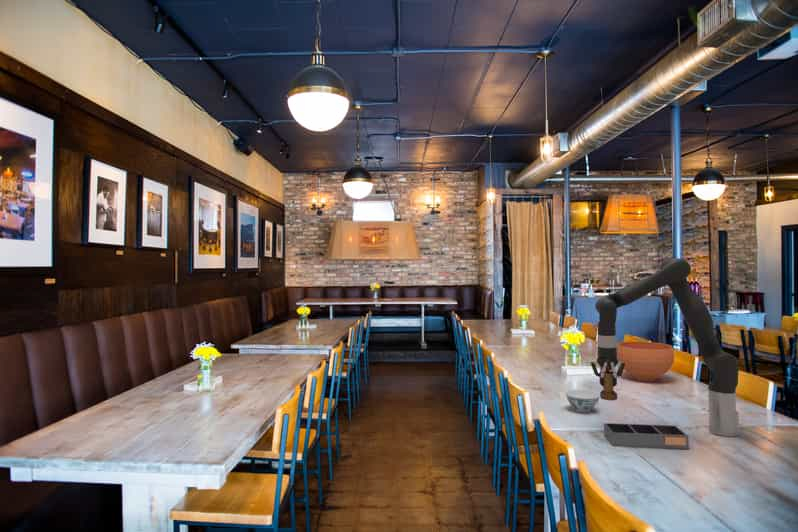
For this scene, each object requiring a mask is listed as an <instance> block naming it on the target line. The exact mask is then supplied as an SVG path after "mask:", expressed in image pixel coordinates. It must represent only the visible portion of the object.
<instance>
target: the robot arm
mask: <svg viewBox="0 0 798 532" xmlns="http://www.w3.org/2000/svg"><path fill="white" fill-rule="evenodd" d="M691 271H692V268H691V265H690V263H689V262H688V261H687V260H686V259H683V258H678V257H677V258H676V257H675V258H666V259H664V260H663V261H662V262H661V263H660V266H659V271H657V272H655V273H653V274H651V275H649V276H646V277H644V278H642V279H639V280H635V281H634V282H631V283H630V284H628V285H626V286H624V287H622V288H621V289H619V290H616V291H615V292H613V293H610V294H608V295H605V296H604V297H602V298H601V297H600V299H598V300H597V301H596V303H595V310H596V311H597V312H598V313H599V314H598V315H599V317H598V319H599V321H598V323H597V342H596V343H597V348H596V349H597V359H596V360H595V361H590V362H589V363H590V366H591V369H592V370H593V374H594V375H595V376H596V377H599V385H601V387H603V386H604V378H603V376H604V373H605V371H606V370H608V368H607V367H610V368H609V370H610V371H611V372H612V373H613V388H614V387H616V386H617V385H618V378H619V377H622V375H623V372H624V367H625V363H624V362H620V361H618V358H617V345H618V342H617V333H616V332H617V331H616V330H617V329H616V322H617V315H618V309H619V308H620V307H625V306H628V305H630V304H632V303H635V302H636V301H638V300H640V299H641V298H643V297H645V296H647V295H649V294H651V293H653V292H655V291H657V290H658V289H661V288H663V287H666V286H668V287H669V289H670V291H671V292H672V294H673V297H674V298H675V301H676V303H677V305H678V308H679V310H680V311H681V314H682V317H683V319H684V321H685V322H686V325H687V326H688V328H689V330H690V332H691V334H692V336H693V338H694V340H695V341H696V344H697V346H698V348H699V352H700V354H701V356H702V360H703V362H704V365H705V366H706V368H707V369H708V370H710V371H712V380H711V381H709V382H708V384H707V388H708V389H707V390H708V431H709V433H712V434H713V433H714V435H716V436H721V435H722V437H734V436H733V435H740V423H739V420H740V419H739V411H737V395H736V392H737V391H736V390H737V387H738V384H739V362H738V360H737V358H736V357H735V356H734V355H733V354H731V353H729V352H725V351H724V350H723V349H722V347H721V346H720V343H719V342H718V340H717V338H716V336H715V326H714V325H715V324H714V320H713V316H712V315H711V313H710V311H709V309H708V307H707V305H706V303H705V302H704V301H703V300H702V298H701V297H700V295H698V294H697V292H696V291H695V290H694V289H693V288H692V286H691V285H690V283H689V281H688V279H687V278H688V277H689V276H690V274H691ZM606 358H610V359H611V361H610V362H609V363H608V362H606ZM598 365H599V367H600V368H599V371H598V368H597V367H598ZM617 365H618V369H617V370H616V367H617Z"/></svg>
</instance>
